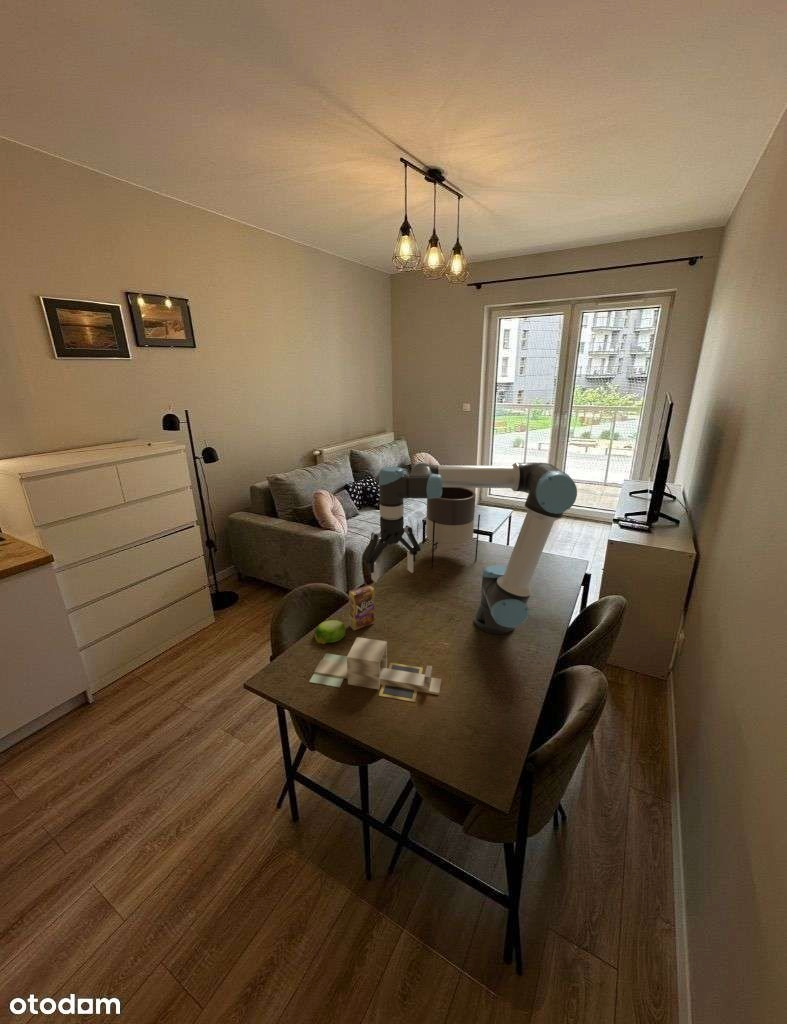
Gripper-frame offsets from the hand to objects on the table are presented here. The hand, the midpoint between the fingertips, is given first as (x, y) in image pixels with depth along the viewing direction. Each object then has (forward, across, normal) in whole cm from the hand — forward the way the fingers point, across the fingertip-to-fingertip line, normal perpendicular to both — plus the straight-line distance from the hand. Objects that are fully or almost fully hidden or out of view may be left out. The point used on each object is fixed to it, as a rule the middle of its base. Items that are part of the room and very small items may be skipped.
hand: (392, 575), depth 139 cm
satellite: (+27, +13, +13) cm, 32 cm away
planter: (+28, -56, -47) cm, 78 cm away
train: (+26, +9, +16) cm, 32 cm away
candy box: (+27, +6, -15) cm, 31 cm away
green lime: (+27, +18, -14) cm, 36 cm away
